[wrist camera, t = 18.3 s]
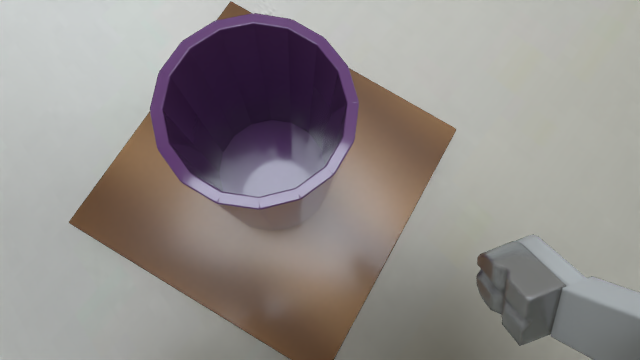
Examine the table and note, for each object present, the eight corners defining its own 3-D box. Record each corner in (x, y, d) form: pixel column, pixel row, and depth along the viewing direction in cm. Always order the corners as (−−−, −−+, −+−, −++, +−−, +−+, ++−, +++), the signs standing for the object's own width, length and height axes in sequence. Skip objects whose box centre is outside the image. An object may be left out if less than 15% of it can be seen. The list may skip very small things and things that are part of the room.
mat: (322, 377, 21) (323, 379, 20) (71, 223, 22) (68, 222, 21) (454, 131, 24) (456, 128, 24) (231, 4, 25) (230, 0, 24)
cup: (293, 253, 22) (291, 248, 12) (192, 192, 22) (108, 139, 12) (351, 153, 23) (393, 75, 13) (255, 98, 23) (225, -19, 14)
